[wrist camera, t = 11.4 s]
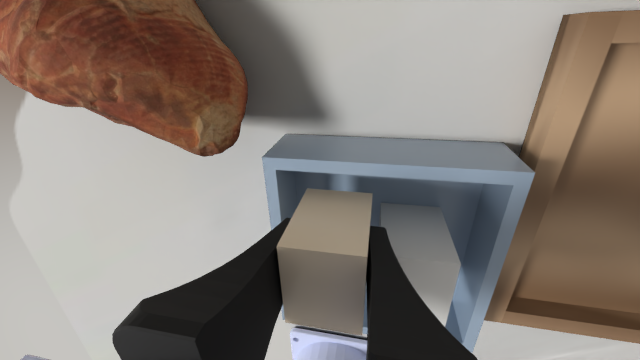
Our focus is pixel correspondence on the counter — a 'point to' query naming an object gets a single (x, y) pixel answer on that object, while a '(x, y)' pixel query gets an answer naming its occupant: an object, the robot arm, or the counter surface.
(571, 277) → the tray
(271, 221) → the dish
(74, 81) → the bread loaf
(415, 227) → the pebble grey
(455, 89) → the counter surface
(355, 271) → the cream cube
